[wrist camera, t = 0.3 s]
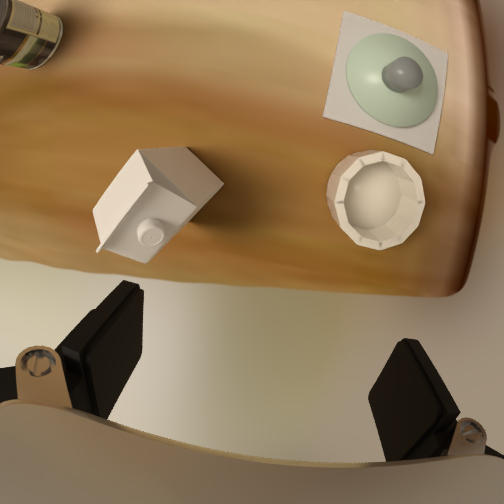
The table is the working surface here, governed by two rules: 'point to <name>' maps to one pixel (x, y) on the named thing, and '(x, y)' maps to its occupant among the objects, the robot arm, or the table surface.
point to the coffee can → (27, 35)
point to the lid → (391, 80)
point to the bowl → (375, 198)
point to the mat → (347, 109)
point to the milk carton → (152, 201)
